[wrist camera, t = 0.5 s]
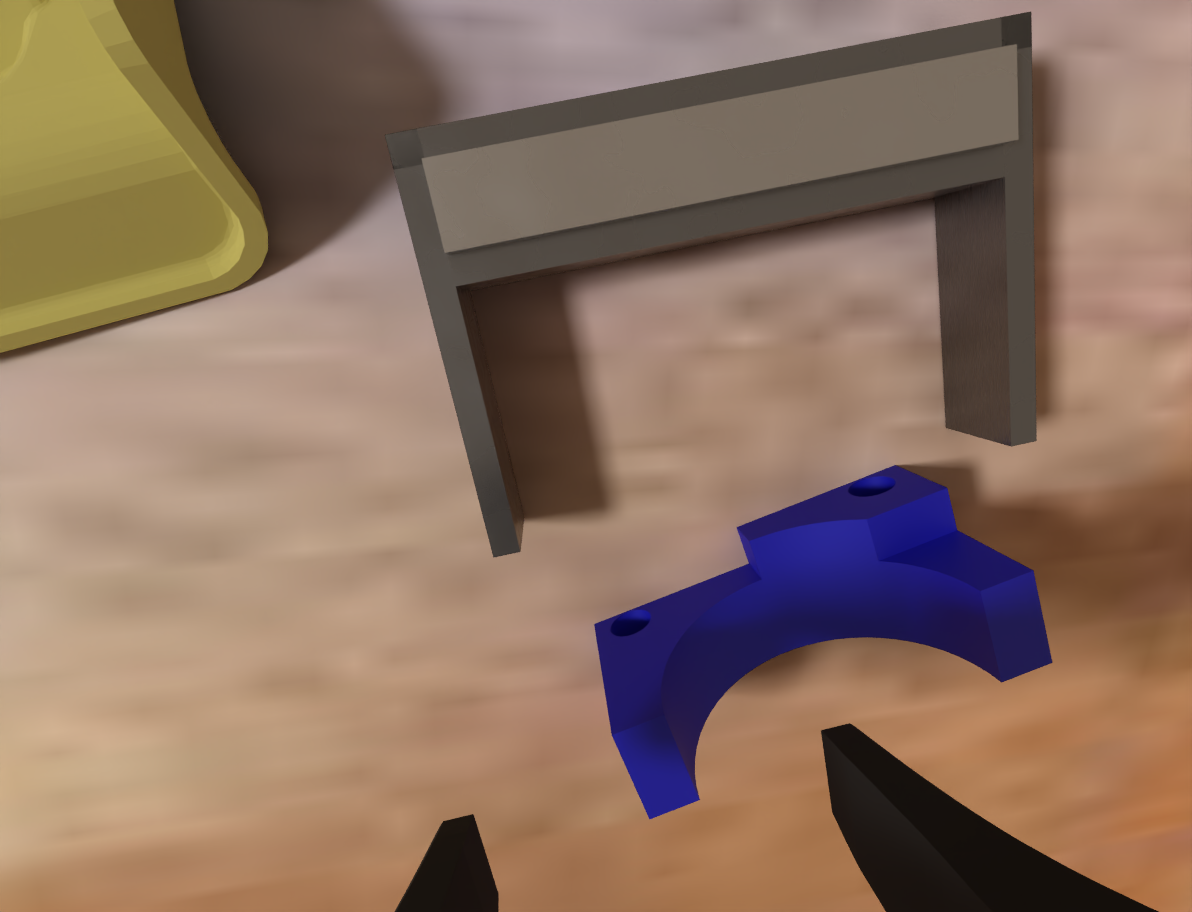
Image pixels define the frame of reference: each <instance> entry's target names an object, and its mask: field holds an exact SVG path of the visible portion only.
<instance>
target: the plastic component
mask: <svg viewBox="0 0 1192 912" xmlns="http://www.w3.org/2000/svg"><path fill="white" fill-rule="evenodd" d="M267 251H268V231H267V227H266V223H265V219H264V215H263V210H262V207H261V204H260V201H259V198H258V196H257V194H256V192H255V190H254V189H253V187H252V186H251V185H250V183H249V182H248V180H247V179H246V178H245V176H244V175H243V173H242V172H241V171H240V169H239V168H238V167H237V165H236V164H235V162H234V161H233V160H232V158H231V156H230V155H229V153H228V152H227V150H226V149H225V147H224V145H223V144H222V142H221V140H220V138H219V137H218V135H217V133H216V131H215V130H214V128H213V126H212V124H211V122H210V120H209V118H208V116H207V114H206V112H205V109H204V107H203V105H202V103H201V101H200V99H199V96H198V94H197V92H196V89H195V86H194V83H193V81H192V78H191V75H190V71H189V68H188V64H187V60H186V55H185V51H184V46H183V41H182V36H181V32H180V27H179V22H178V18H177V13H176V8H175V3H174V0H0V353H1V352H5V351H9V350H13V349H16V348H20V347H24V346H27V345H31V344H35V343H38V342H42V341H46V340H49V339H53V338H57V337H60V336H64V335H68V334H71V333H75V332H79V331H83V330H86V329H90V328H94V327H97V326H101V325H105V324H108V323H112V322H116V321H119V320H123V319H127V318H130V317H134V316H138V315H141V314H145V313H149V312H152V311H156V310H160V309H164V308H167V307H171V306H175V305H178V304H182V303H186V302H189V301H193V300H197V299H200V298H204V297H208V296H211V295H215V294H219V293H222V292H226V291H230V290H232V289H234V288H235V287H237V286H239V285H240V284H242V283H244V282H245V281H247V280H249V279H250V278H251V277H252V276H253V275H254V274H255V272H256V271H257V270H258V269H259V268H260V267H261V266H262V263H263V261H264V258H265V256H266V253H267Z"/></svg>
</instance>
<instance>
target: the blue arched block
mask: <svg viewBox="0 0 1192 912" xmlns="http://www.w3.org/2000/svg"><path fill="white" fill-rule="evenodd" d="M737 530H738V533H739V536H740V538H741V541H742V544H743V547H744V550H745V553H746V556H747V559H748V562H749V564H747V565H744V566H742V567H739V568H737V569H734V570H732V571H729V572H726V573H724V574H721V575H719V576H716V577H714V578H711V579H709V580H706V581H703V582H701V583H698V584H696V585H693V586H691V587H688V588H686V589H683V590H680V591H678V592H675V593H673V594H670V595H668V596H665V597H663V598H660V599H657V600H655V601H652V602H650V603H647V604H645V605H642V606H640V607H637V608H634V609H632V610H629V611H627V612H624V613H622V614H619V615H617V616H614V617H611V618H609V619H606V620H604V621H601V622H599V623H596V624H594V625H595V632H596V638H597V644H598V651H599V657H600V663H601V670H602V676H603V682H604V689H605V695H606V701H607V708H608V714H609V720H610V726H611V733H612V737H613V739H614V741H615V743H616V745H617V748H618V750H619V752H620V754H621V757H622V759H623V761H624V763H625V766H626V768H627V770H628V772H629V774H630V777H631V779H632V781H633V783H634V786H635V788H636V790H637V792H638V794H639V797H640V799H641V801H642V803H643V806H644V808H645V810H646V812H647V815H648V817H649V819H652V818H654V817H657V816H659V815H662V814H665V813H667V812H670V811H672V810H675V809H677V808H680V807H683V806H685V805H688V804H690V803H693V802H695V801H698V800H700V799H699V795H698V791H697V787H696V779H695V756H696V749H697V744H698V740H699V737H700V733H701V731H702V729H703V726H704V724H705V722H706V720H707V718H708V716H709V714H710V712H711V711H712V709H713V708H714V706H715V705H716V703H717V702H718V701H719V699H720V698H721V697H722V696H723V695H724V694H725V692H726V691H727V690H728V689H729V688H730V687H731V686H732V685H733V684H734V683H736V682H737V681H738V680H739V679H740V678H742V677H743V676H744V675H745V674H747V673H748V672H750V671H751V670H753V669H754V668H756V667H757V666H759V665H761V664H762V663H764V662H766V661H768V660H770V659H772V658H774V657H776V656H778V655H780V654H783V653H785V652H788V651H790V650H793V649H796V648H799V647H802V646H806V645H809V644H814V643H818V642H823V641H828V640H834V639H844V638H859V637H873V638H889V639H898V640H904V641H910V642H915V643H919V644H924V645H928V646H931V647H934V648H938V649H941V650H944V651H946V652H949V653H951V654H954V655H956V656H959V657H961V658H963V659H965V660H967V661H969V662H971V663H973V664H975V665H977V666H978V667H980V668H982V669H983V670H985V671H987V672H988V673H990V674H991V675H992V676H994V677H995V678H996V679H998V680H999V681H1000V682H1004V681H1007V680H1009V679H1012V678H1014V677H1017V676H1019V675H1022V674H1025V673H1027V672H1030V671H1032V670H1035V669H1037V668H1040V667H1043V666H1045V665H1048V664H1050V663H1052V659H1051V654H1050V649H1049V644H1048V639H1047V634H1046V630H1045V625H1044V620H1043V615H1042V610H1041V605H1040V600H1039V596H1038V591H1037V586H1036V581H1035V576H1034V571H1033V570H1031V569H1029V568H1028V567H1026V566H1024V565H1022V564H1020V563H1018V562H1016V561H1014V560H1012V559H1011V558H1009V557H1007V556H1005V555H1003V554H1001V553H999V552H997V551H995V550H994V549H992V548H990V547H988V546H986V545H984V544H982V543H980V542H978V541H977V540H975V539H973V538H971V537H969V536H967V535H965V534H963V533H961V532H960V531H958V530H957V527H956V523H955V519H954V514H953V510H952V506H951V502H950V498H949V493H948V489H947V488H946V487H944V486H942V485H939V484H937V483H935V482H933V481H930V480H928V479H926V478H923V477H921V476H919V475H917V474H914V473H912V472H910V471H907V470H905V469H903V468H901V467H898V466H896V465H894V466H892V467H889V468H887V469H884V470H882V471H879V472H877V473H874V474H871V475H869V476H866V477H864V478H861V479H859V480H856V481H854V482H851V483H848V484H846V485H843V486H841V487H838V488H836V489H833V490H831V491H828V492H826V493H823V494H820V495H818V496H815V497H813V498H810V499H808V500H805V501H803V502H800V503H797V504H795V505H792V506H790V507H787V508H785V509H782V510H780V511H777V512H775V513H772V514H769V515H767V516H764V517H762V518H759V519H757V520H754V521H752V522H749V523H746V524H744V525H741V526H739V527H737Z"/></svg>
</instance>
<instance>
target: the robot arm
mask: <svg viewBox="0 0 1192 912" xmlns="http://www.w3.org/2000/svg"><path fill="white" fill-rule="evenodd" d="M821 734H822V741H823V748H824V756H825V763H826V770H827V777H828V785H829V792H830V799H831V806H832V813H833V815H834V817H835V819H836V821H837V823H838V825H839V827H840V829H841V832H842V834H843V836H844V838H845V840H846V842H847V844H848V846H849V848H850V850H851V852H852V854H853V856H854V858H855V860H856V862H857V864H858V866H859V868H860V870H861V871H862V873H863V875H864V876H865V878H866V880H867V881H868V883H869V884H870V886H871V888H872V889H873V891H874V893H875V894H876V896H877V898H878V899H879V901H880V903H881V904H882V906H883V907H884V909H885V911H886V912H1158V911H1156V910H1154V909H1152V908H1149V907H1147V906H1145V905H1143V904H1141V903H1139V902H1137V901H1135V900H1132V899H1130V898H1128V897H1126V896H1124V895H1122V894H1120V893H1118V892H1116V891H1114V890H1112V889H1110V888H1107V887H1105V886H1103V885H1101V884H1099V883H1097V882H1095V881H1093V880H1091V879H1089V878H1087V877H1085V876H1083V875H1081V874H1079V873H1077V872H1075V871H1074V870H1072V869H1070V868H1068V867H1066V866H1064V865H1062V864H1061V863H1059V862H1057V861H1055V860H1053V859H1051V858H1050V857H1048V856H1046V855H1044V854H1042V853H1041V852H1039V851H1037V850H1035V849H1033V848H1032V847H1030V846H1028V845H1026V844H1024V843H1023V842H1021V841H1019V840H1018V839H1016V838H1014V837H1013V836H1011V835H1009V834H1008V833H1006V832H1004V831H1003V830H1001V829H1000V828H998V827H996V826H995V825H993V824H992V823H990V822H988V821H987V820H985V819H984V818H982V817H981V816H979V815H977V814H976V813H974V812H973V811H971V810H970V809H968V808H967V807H965V806H964V805H962V804H961V803H959V802H958V801H956V800H955V799H953V798H952V797H950V796H949V795H948V794H946V793H945V792H943V791H942V790H940V789H939V788H937V787H936V786H935V785H933V784H932V783H930V782H929V781H927V780H926V779H924V778H923V777H922V776H920V775H919V774H918V773H916V772H915V771H913V770H912V769H911V768H909V767H908V766H907V765H905V764H904V763H903V762H901V761H900V760H898V759H897V758H896V757H894V756H893V755H892V754H890V753H889V752H888V751H886V750H885V749H884V748H882V747H881V746H880V745H878V744H877V743H876V742H875V741H873V740H872V739H871V738H869V737H868V736H867V735H865V734H864V733H863V732H861V731H860V730H859V729H857V728H856V727H855V726H853V725H852V724H845V725H841V726H837V727H833V728H829V729H825V730H821ZM395 912H498V891H497V888H496V885H495V881H494V878H493V875H492V872H491V869H490V866H489V862H488V859H487V856H486V853H485V850H484V846H483V843H482V840H481V837H480V834H479V831H478V827H477V824H476V821H475V818H474V815H473V814H472V815H468V816H463V817H459V818H455V819H451V820H447V821H443V823H442V824H441V826H440V827H439V829H438V831H437V833H436V835H435V837H434V839H433V841H432V843H431V845H430V847H429V848H428V850H427V852H426V854H425V856H424V858H423V860H422V862H421V864H420V866H419V868H418V870H417V872H416V874H415V875H414V877H413V879H412V881H411V883H410V885H409V887H408V889H407V890H406V892H405V894H404V896H403V898H402V899H401V901H400V903H399V905H398V907H397V908H396V910H395Z"/></svg>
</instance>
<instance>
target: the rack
mask: <svg viewBox="0 0 1192 912" xmlns="http://www.w3.org/2000/svg"><path fill="white" fill-rule="evenodd" d="M385 138H386V141H387V145H388V149H389V153H390V157H391V161H392V165H393V169H394V173H395V176H396V180H397V184H398V188H399V192H400V196H401V200H402V204H403V208H404V211H405V215H406V219H407V223H408V227H409V231H410V235H411V239H412V242H413V246H414V250H415V254H416V258H417V262H418V266H419V270H420V274H421V277H422V281H423V285H424V289H425V293H426V297H427V301H428V305H429V309H430V312H431V316H432V320H433V324H434V328H435V332H436V336H437V340H438V344H439V347H440V351H441V355H442V359H443V363H444V367H445V371H446V375H447V378H448V382H449V386H450V390H451V394H452V398H453V402H454V406H455V410H456V413H457V417H458V421H459V425H460V429H461V433H462V437H463V441H464V445H465V448H466V452H467V456H468V460H469V464H470V468H471V472H472V476H473V479H474V483H475V487H476V491H477V495H478V499H479V503H480V507H481V511H482V514H483V518H484V522H485V526H486V530H487V534H488V538H489V542H490V546H491V549H492V553H493V557H498V556H503V555H507V554H512V553H517V552H521V543H522V533H523V524H524V514H523V510H522V506H521V502H520V498H519V493H518V489H517V485H516V481H515V477H514V473H513V468H512V464H511V460H510V456H509V452H508V448H507V443H506V439H505V435H504V431H503V427H502V422H501V418H500V414H499V410H498V406H497V402H496V397H495V393H494V389H493V385H492V381H491V376H490V372H489V368H488V364H487V360H486V356H485V351H484V347H483V343H482V339H481V335H480V330H479V326H478V322H477V318H476V314H475V310H474V305H473V301H472V297H471V293H470V291H471V290H476V289H481V288H486V287H491V286H496V285H501V284H506V283H511V282H516V281H521V280H526V279H531V278H536V277H541V276H546V275H551V274H556V273H561V272H566V271H571V270H576V269H581V268H586V267H591V266H596V265H601V264H606V263H611V262H616V261H621V260H626V259H631V258H636V257H641V256H646V255H651V254H656V253H661V252H666V251H671V250H676V249H681V248H686V247H691V246H696V245H701V244H706V243H711V242H716V241H721V240H726V239H731V238H736V237H741V236H746V235H751V234H756V233H761V232H766V231H771V230H776V229H781V228H786V227H791V226H796V225H801V224H806V223H811V222H816V221H821V220H826V219H831V218H836V217H841V216H846V215H851V214H856V213H861V212H866V211H871V210H876V209H881V208H886V207H891V206H896V205H901V204H906V203H911V202H916V201H921V200H926V199H931V198H934V200H935V219H936V239H937V259H938V279H939V298H940V318H941V338H942V358H943V378H944V397H945V417H946V428H948V429H952V430H955V431H959V432H962V433H966V434H969V435H973V436H976V437H980V438H983V439H987V440H990V441H994V442H997V443H1001V444H1004V445H1008V446H1015V445H1020V444H1025V443H1029V442H1034V441H1036V361H1035V279H1034V196H1033V114H1032V32H1031V12H1027V13H1021V14H1016V15H1011V16H1006V17H1000V18H995V19H990V20H985V21H979V22H974V23H969V24H964V25H958V26H953V27H948V28H943V29H937V30H932V31H927V32H922V33H916V34H911V35H906V36H901V37H895V38H890V39H885V40H880V41H874V42H869V43H864V44H859V45H853V46H848V47H843V48H838V49H832V50H827V51H822V52H817V53H812V54H806V55H801V56H796V57H791V58H785V59H780V60H775V61H770V62H764V63H759V64H754V65H749V66H743V67H738V68H733V69H728V70H722V71H717V72H712V73H707V74H701V75H696V76H691V77H686V78H680V79H675V80H670V81H665V82H659V83H654V84H649V85H644V86H638V87H633V88H628V89H623V90H617V91H612V92H607V93H602V94H596V95H591V96H586V97H581V98H575V99H570V100H565V101H560V102H554V103H549V104H544V105H539V106H534V107H528V108H523V109H518V110H513V111H507V112H502V113H497V114H492V115H486V116H481V117H476V118H471V119H465V120H460V121H455V122H450V123H444V124H439V125H434V126H429V127H423V128H418V129H413V130H408V131H402V132H397V133H392V134H387V135H385Z"/></svg>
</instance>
